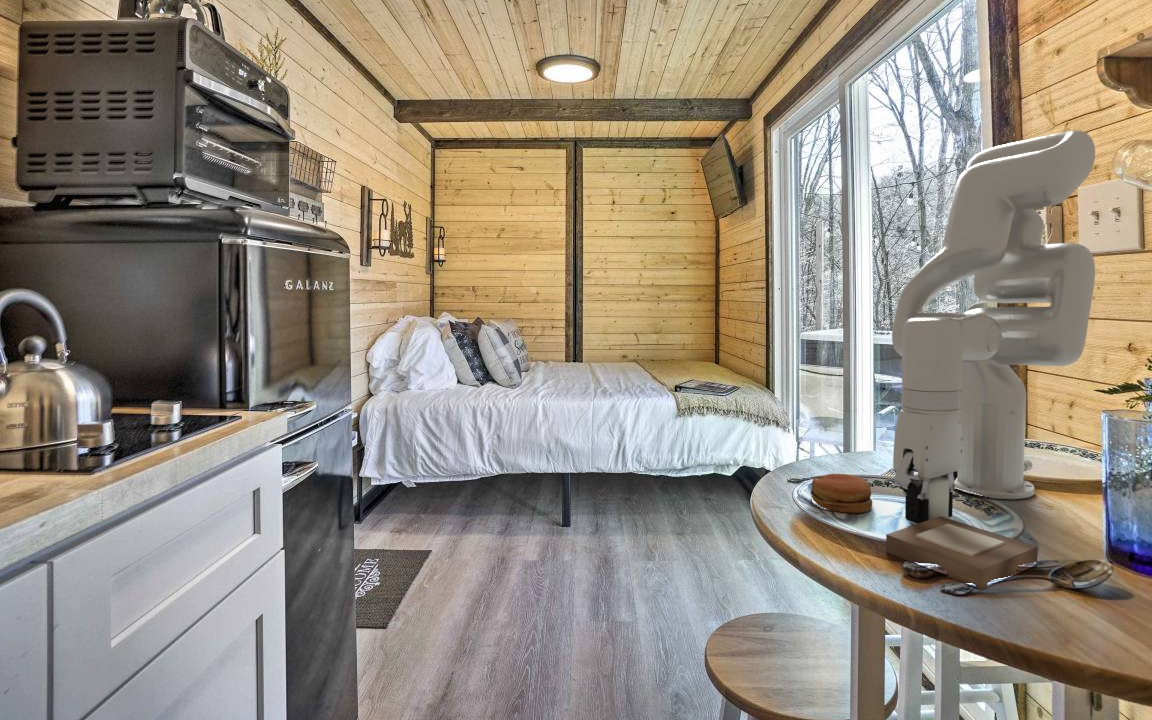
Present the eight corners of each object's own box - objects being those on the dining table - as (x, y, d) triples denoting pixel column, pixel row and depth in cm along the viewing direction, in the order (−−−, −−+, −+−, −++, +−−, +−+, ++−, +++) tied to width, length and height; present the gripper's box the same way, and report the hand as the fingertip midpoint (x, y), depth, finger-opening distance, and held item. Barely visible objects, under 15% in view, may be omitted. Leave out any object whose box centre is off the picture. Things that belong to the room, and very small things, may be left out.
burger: (881, 515, 90) (881, 486, 90) (820, 515, 91) (820, 487, 91) (858, 494, 100) (858, 468, 99) (803, 495, 101) (803, 469, 100)
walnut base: (940, 532, 82) (941, 514, 82) (1036, 565, 72) (1037, 544, 71) (886, 551, 77) (886, 532, 77) (981, 590, 66) (981, 567, 66)
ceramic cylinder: (922, 514, 89) (923, 471, 88) (955, 525, 85) (956, 479, 84) (902, 521, 87) (902, 477, 86) (934, 532, 82) (935, 486, 82)
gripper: (940, 390, 91) (938, 500, 93) (869, 403, 84) (868, 522, 85) (991, 397, 84) (988, 514, 86) (919, 411, 77) (917, 539, 79)
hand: (928, 517), depth 86 cm, fingers closed on ceramic cylinder, 5 cm apart
